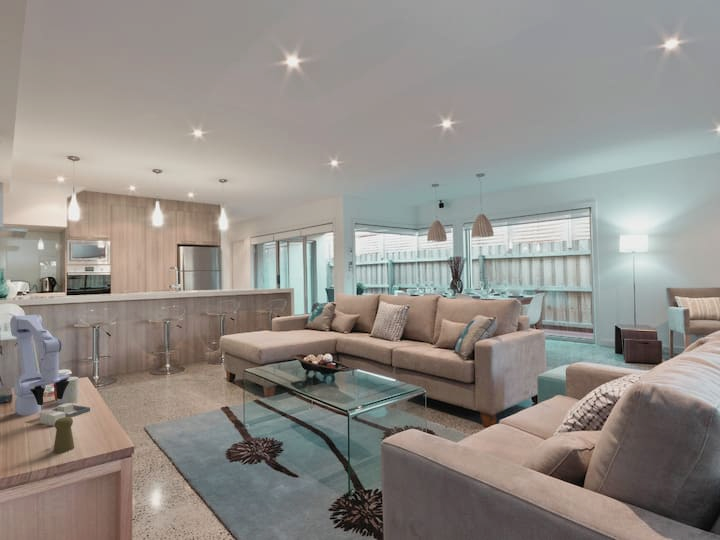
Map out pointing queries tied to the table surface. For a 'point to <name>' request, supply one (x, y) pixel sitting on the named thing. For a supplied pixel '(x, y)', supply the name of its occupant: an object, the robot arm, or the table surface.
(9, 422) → the table surface
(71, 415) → the bin
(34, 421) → the brown flat slab
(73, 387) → the cup
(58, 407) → the cream matte cube
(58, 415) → the off-white block
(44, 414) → the off-white stacked cube
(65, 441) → the cork
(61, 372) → the paper cup
